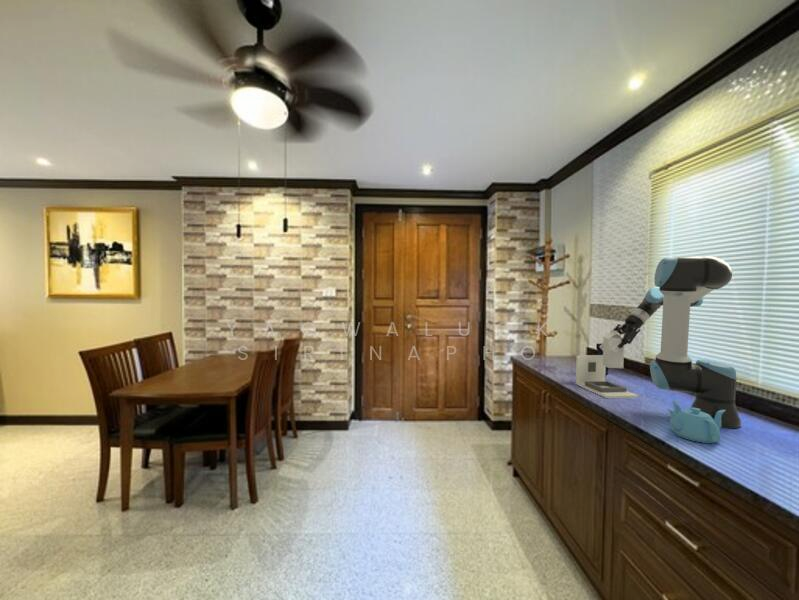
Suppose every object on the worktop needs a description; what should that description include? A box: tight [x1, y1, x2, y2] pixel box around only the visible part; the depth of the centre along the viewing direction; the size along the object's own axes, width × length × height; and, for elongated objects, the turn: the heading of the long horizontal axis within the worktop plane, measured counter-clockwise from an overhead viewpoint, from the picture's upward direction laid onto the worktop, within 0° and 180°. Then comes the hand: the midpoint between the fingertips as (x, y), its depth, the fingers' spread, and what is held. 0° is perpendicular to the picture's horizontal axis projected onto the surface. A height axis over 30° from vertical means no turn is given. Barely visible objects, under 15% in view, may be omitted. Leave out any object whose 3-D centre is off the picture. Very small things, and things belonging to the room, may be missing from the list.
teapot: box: [667, 400, 726, 444], centre depth 122 cm, size 15×15×10 cm
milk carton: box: [602, 329, 625, 369], centre depth 180 cm, size 7×7×19 cm
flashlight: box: [595, 342, 610, 379], centre depth 203 cm, size 8×8×20 cm
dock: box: [575, 354, 639, 399], centre depth 177 cm, size 24×16×16 cm, turn 6°
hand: (607, 350), depth 180 cm, fingers closed on milk carton, 9 cm apart
